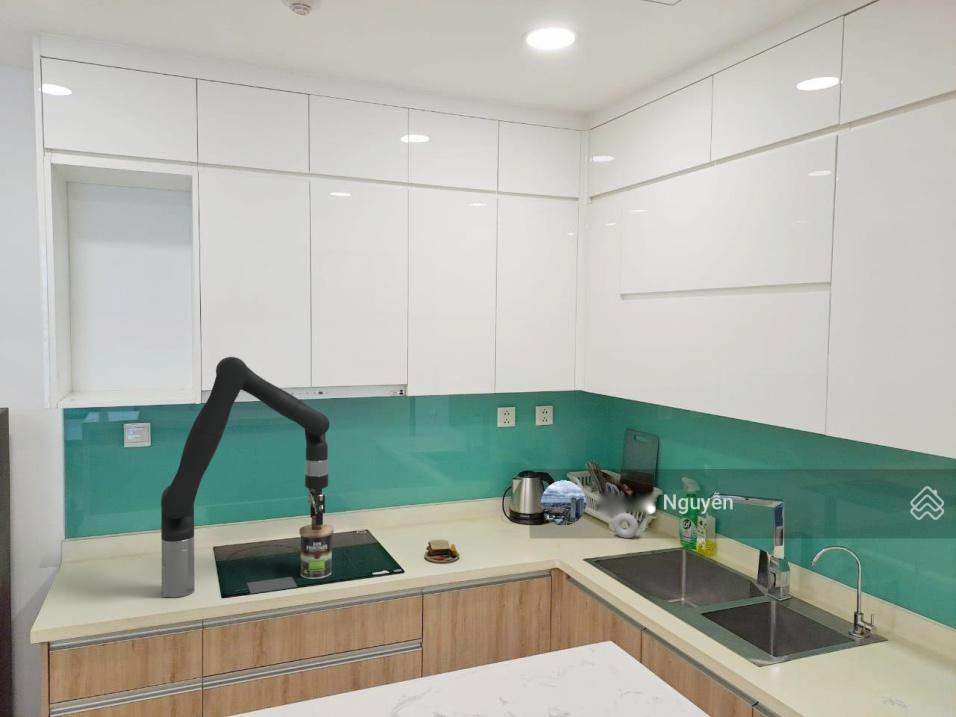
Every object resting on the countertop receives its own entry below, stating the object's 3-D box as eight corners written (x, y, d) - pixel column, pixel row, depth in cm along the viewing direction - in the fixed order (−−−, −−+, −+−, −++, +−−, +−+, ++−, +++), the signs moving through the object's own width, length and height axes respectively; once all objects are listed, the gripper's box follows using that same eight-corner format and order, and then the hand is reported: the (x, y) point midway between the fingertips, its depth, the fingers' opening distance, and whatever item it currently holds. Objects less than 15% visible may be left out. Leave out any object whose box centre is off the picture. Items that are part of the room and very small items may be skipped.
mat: (250, 594, 211) (250, 593, 211) (247, 584, 219) (247, 582, 219) (297, 587, 217) (297, 586, 217) (291, 577, 225) (291, 576, 225)
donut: (611, 537, 273) (612, 512, 272) (613, 534, 276) (614, 510, 276) (636, 541, 269) (637, 515, 268) (638, 538, 272) (639, 513, 272)
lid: (302, 539, 221) (302, 523, 220) (296, 529, 231) (296, 514, 230) (336, 535, 225) (337, 519, 225) (329, 525, 235) (329, 510, 235)
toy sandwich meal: (425, 565, 239) (425, 551, 239) (423, 551, 253) (423, 539, 253) (461, 564, 241) (461, 550, 241) (457, 551, 254) (457, 538, 254)
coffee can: (333, 578, 225) (333, 536, 224) (300, 581, 222) (300, 538, 222) (331, 567, 235) (331, 526, 234) (300, 569, 232) (300, 528, 231)
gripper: (300, 469, 232) (300, 516, 233) (309, 478, 219) (309, 528, 220) (323, 467, 235) (323, 514, 236) (333, 476, 222) (332, 525, 223)
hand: (316, 521), depth 228 cm, fingers open, 8 cm apart
